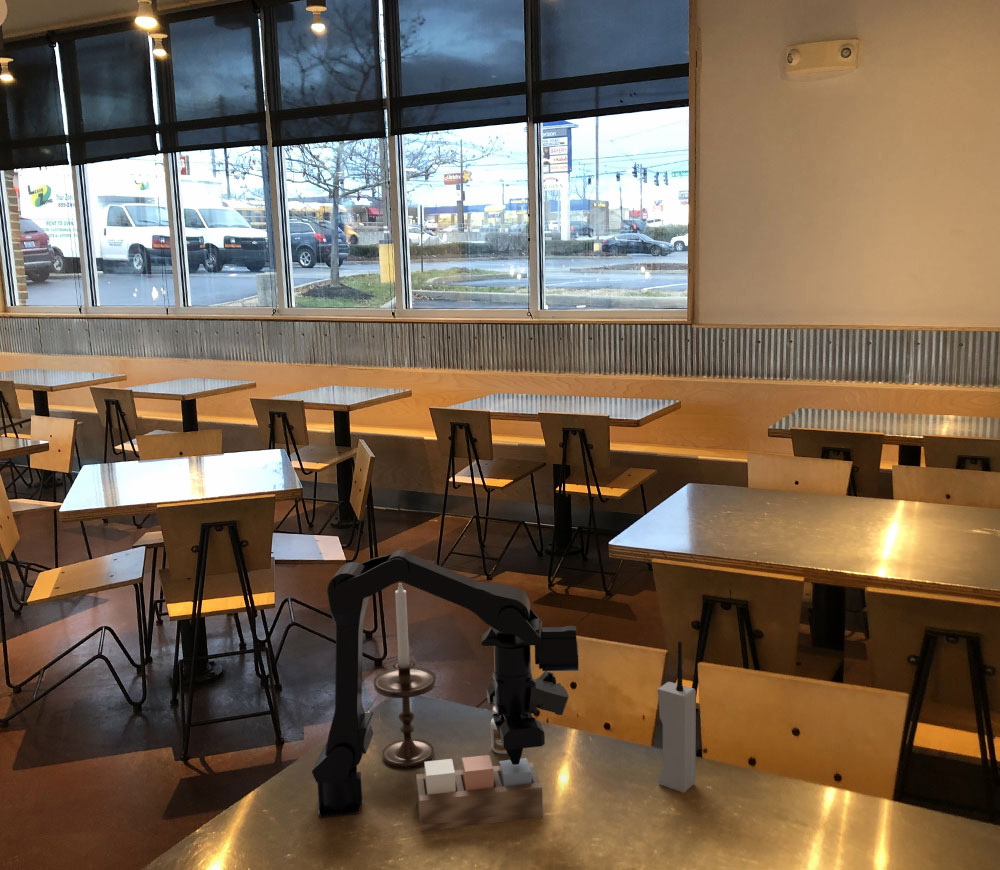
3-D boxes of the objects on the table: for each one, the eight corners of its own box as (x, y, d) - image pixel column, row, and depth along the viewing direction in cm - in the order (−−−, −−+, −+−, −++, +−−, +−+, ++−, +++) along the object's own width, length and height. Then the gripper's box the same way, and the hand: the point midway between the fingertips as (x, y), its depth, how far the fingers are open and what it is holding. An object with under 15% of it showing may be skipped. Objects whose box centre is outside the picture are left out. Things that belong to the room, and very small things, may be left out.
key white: (427, 799, 145) (426, 775, 144) (425, 785, 149) (424, 761, 148) (455, 796, 145) (455, 772, 145) (452, 782, 150) (451, 758, 149)
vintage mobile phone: (668, 775, 158) (668, 633, 154) (695, 784, 154) (696, 639, 151) (657, 784, 155) (657, 640, 151) (684, 794, 152) (684, 647, 148)
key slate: (504, 798, 147) (503, 774, 146) (500, 784, 151) (499, 760, 150) (532, 795, 147) (531, 771, 147) (526, 781, 152) (526, 758, 151)
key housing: (421, 831, 143) (419, 800, 143) (417, 803, 151) (416, 774, 150) (542, 817, 146) (542, 787, 145) (533, 790, 154) (532, 762, 153)
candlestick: (449, 759, 165) (442, 567, 159) (393, 777, 159) (383, 579, 154) (421, 735, 174) (413, 553, 169) (367, 751, 169) (357, 563, 163)
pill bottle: (494, 756, 166) (493, 715, 164) (488, 744, 170) (487, 704, 169) (518, 752, 167) (517, 711, 166) (511, 741, 171) (510, 701, 170)
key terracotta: (466, 795, 146) (465, 771, 145) (462, 781, 150) (461, 757, 149) (494, 792, 146) (493, 768, 146) (490, 778, 151) (489, 754, 150)
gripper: (577, 690, 138) (579, 788, 141) (551, 643, 156) (552, 731, 159) (502, 697, 136) (505, 796, 139) (484, 649, 155) (487, 737, 157)
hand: (515, 763), depth 148 cm, fingers closed
